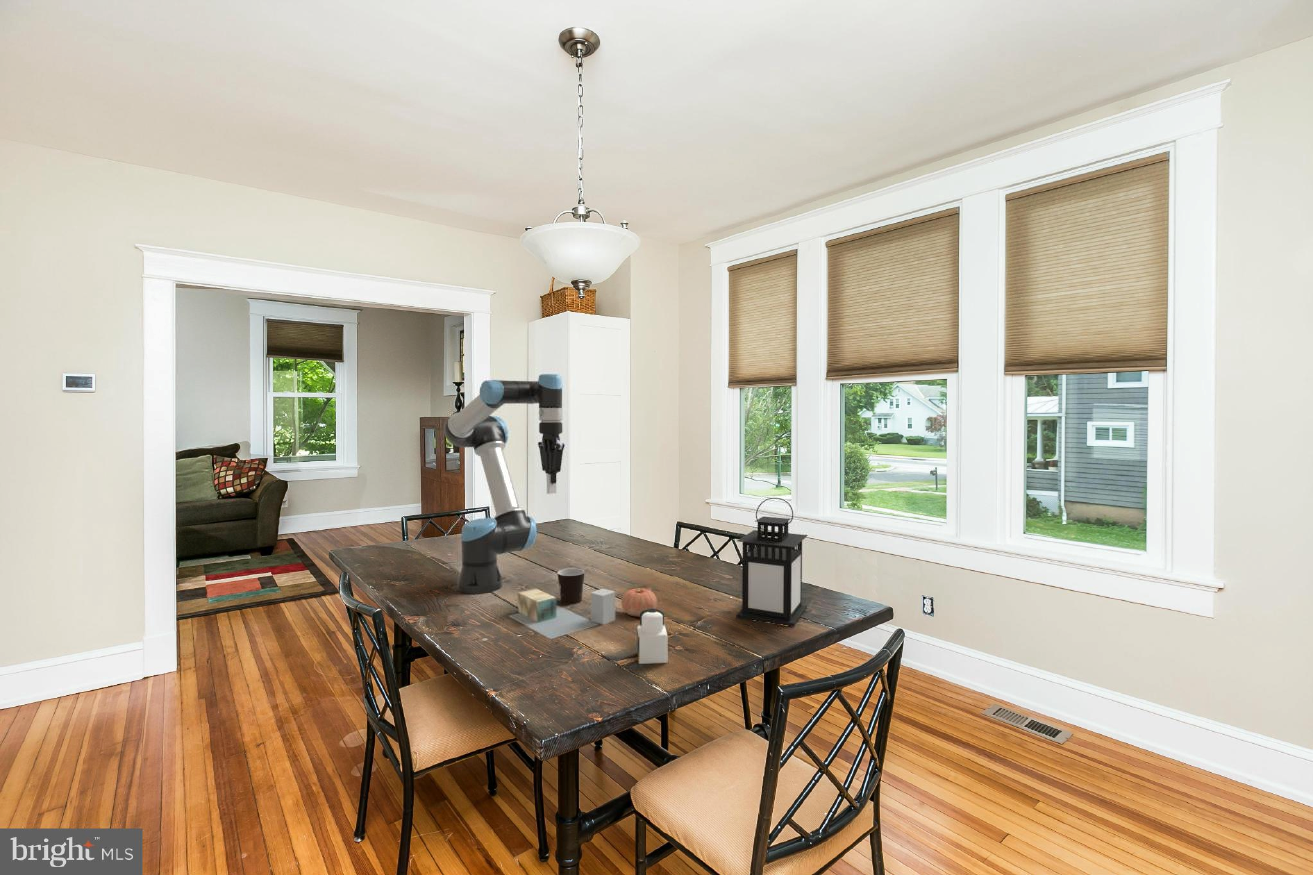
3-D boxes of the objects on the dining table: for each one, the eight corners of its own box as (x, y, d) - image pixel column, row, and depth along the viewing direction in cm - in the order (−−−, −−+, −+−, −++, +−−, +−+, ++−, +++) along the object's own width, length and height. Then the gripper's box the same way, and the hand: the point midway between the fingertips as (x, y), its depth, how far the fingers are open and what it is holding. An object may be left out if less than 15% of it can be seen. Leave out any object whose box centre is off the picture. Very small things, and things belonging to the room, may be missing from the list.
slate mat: (508, 617, 182) (508, 615, 182) (554, 605, 193) (554, 604, 193) (550, 641, 164) (550, 638, 164) (598, 626, 175) (598, 624, 175)
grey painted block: (591, 622, 178) (590, 592, 177) (602, 618, 182) (602, 588, 181) (603, 626, 175) (603, 595, 174) (615, 621, 178) (615, 591, 178)
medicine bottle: (637, 652, 156) (637, 606, 156) (664, 651, 157) (664, 605, 156) (638, 664, 149) (638, 616, 149) (667, 663, 150) (667, 615, 149)
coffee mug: (579, 607, 191) (579, 576, 190) (553, 606, 192) (553, 574, 192) (591, 596, 202) (590, 566, 201) (566, 594, 204) (566, 565, 203)
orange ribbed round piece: (640, 606, 192) (640, 581, 192) (664, 614, 184) (664, 588, 184) (614, 614, 184) (613, 588, 184) (638, 624, 177) (638, 596, 176)
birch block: (538, 622, 176) (518, 611, 185) (556, 617, 180) (535, 607, 189) (538, 602, 176) (518, 592, 185) (556, 597, 180) (535, 588, 189)
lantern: (736, 618, 181) (736, 501, 179) (753, 601, 197) (754, 493, 195) (793, 627, 174) (795, 505, 172) (807, 608, 189) (808, 497, 187)
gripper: (530, 421, 202) (531, 492, 203) (551, 422, 192) (552, 496, 193) (550, 420, 207) (551, 490, 208) (571, 421, 197) (572, 494, 198)
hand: (551, 493), depth 201 cm, fingers closed
